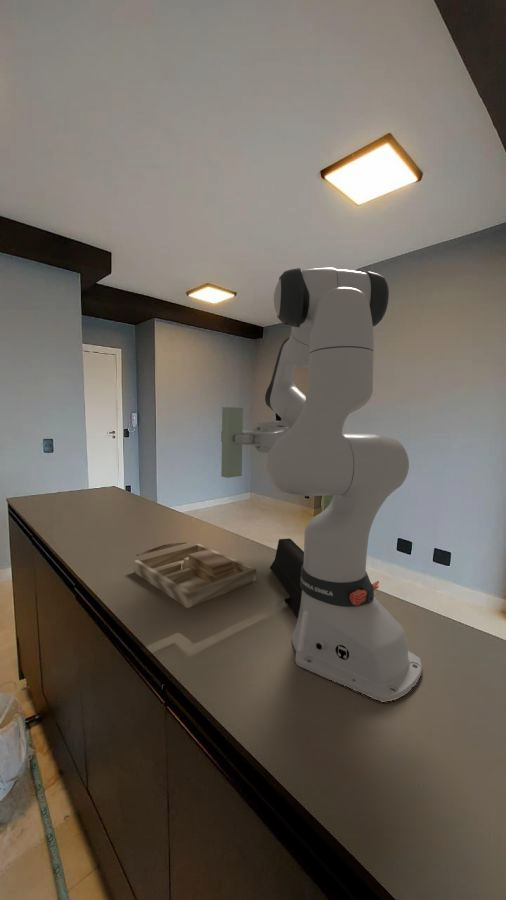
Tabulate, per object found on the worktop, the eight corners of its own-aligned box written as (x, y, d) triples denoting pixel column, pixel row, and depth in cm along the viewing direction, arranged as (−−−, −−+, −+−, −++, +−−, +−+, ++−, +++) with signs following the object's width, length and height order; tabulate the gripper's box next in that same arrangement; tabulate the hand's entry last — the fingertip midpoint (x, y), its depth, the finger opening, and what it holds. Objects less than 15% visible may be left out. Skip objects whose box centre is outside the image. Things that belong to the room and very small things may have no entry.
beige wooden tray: (255, 586, 92) (256, 568, 91) (187, 614, 78) (187, 594, 77) (198, 558, 109) (198, 543, 109) (134, 577, 95) (134, 560, 95)
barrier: (334, 615, 79) (336, 570, 79) (296, 620, 77) (297, 573, 77) (296, 571, 102) (297, 535, 101) (265, 573, 100) (266, 537, 99)
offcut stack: (238, 578, 93) (238, 561, 92) (215, 586, 88) (215, 569, 88) (204, 561, 103) (204, 546, 102) (182, 568, 98) (182, 552, 98)
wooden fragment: (140, 563, 105) (140, 560, 105) (133, 550, 115) (133, 547, 115) (224, 550, 117) (224, 547, 117) (211, 540, 127) (211, 537, 127)
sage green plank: (241, 475, 99) (242, 407, 97) (227, 477, 96) (228, 407, 94) (235, 474, 101) (236, 407, 99) (221, 476, 97) (222, 407, 96)
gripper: (242, 425, 113) (205, 425, 104) (294, 427, 99) (257, 427, 89) (242, 445, 114) (205, 447, 104) (293, 451, 99) (256, 453, 90)
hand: (229, 438), depth 97 cm, fingers closed on sage green plank, 2 cm apart
